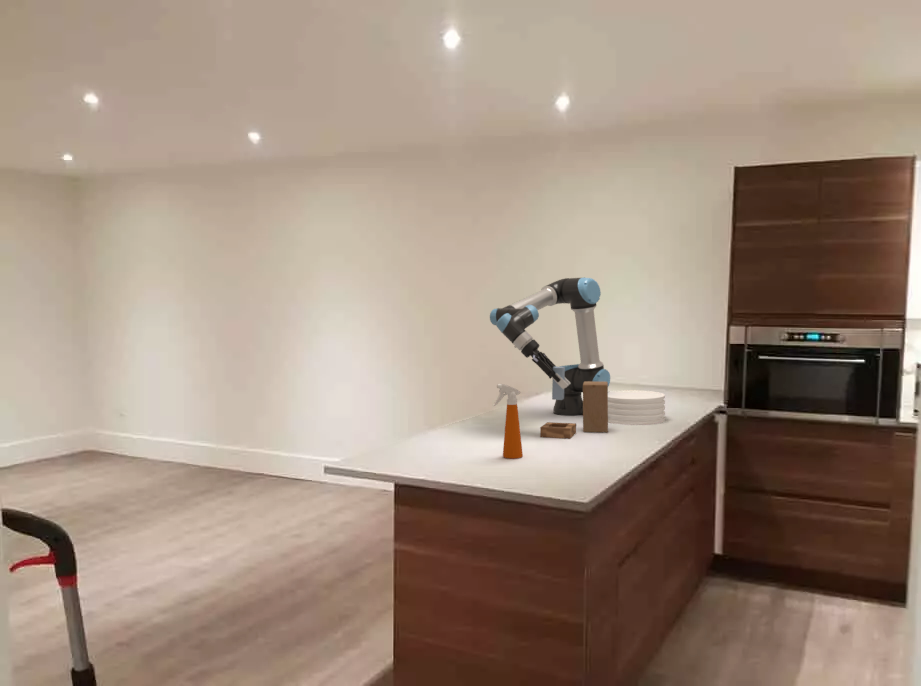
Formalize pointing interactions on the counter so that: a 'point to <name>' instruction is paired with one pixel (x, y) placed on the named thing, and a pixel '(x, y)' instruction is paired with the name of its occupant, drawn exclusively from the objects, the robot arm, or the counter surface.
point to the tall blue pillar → (556, 389)
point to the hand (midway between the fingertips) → (566, 386)
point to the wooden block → (595, 406)
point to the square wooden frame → (558, 430)
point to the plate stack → (636, 407)
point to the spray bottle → (511, 423)
